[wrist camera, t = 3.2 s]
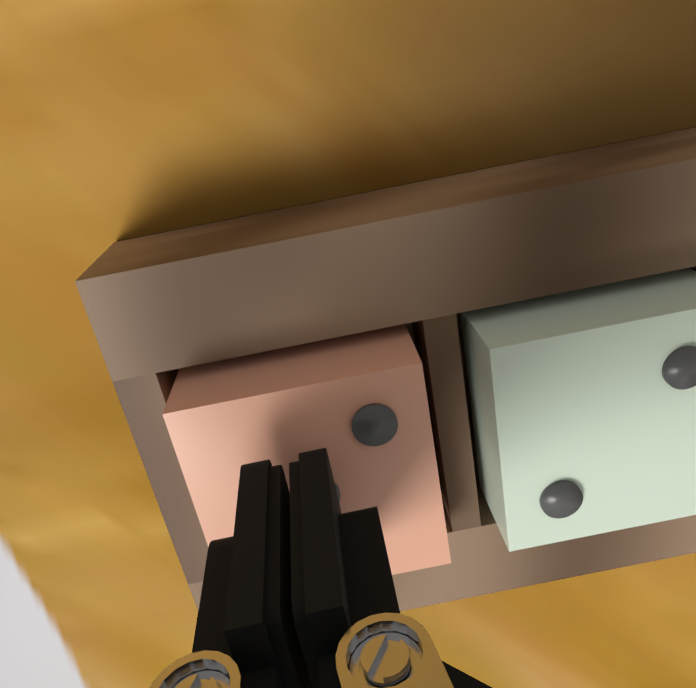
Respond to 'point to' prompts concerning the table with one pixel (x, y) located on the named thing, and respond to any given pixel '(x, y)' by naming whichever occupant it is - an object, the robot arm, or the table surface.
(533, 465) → the button two sage
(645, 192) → the button board
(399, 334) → the button three terracotta
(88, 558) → the table surface
